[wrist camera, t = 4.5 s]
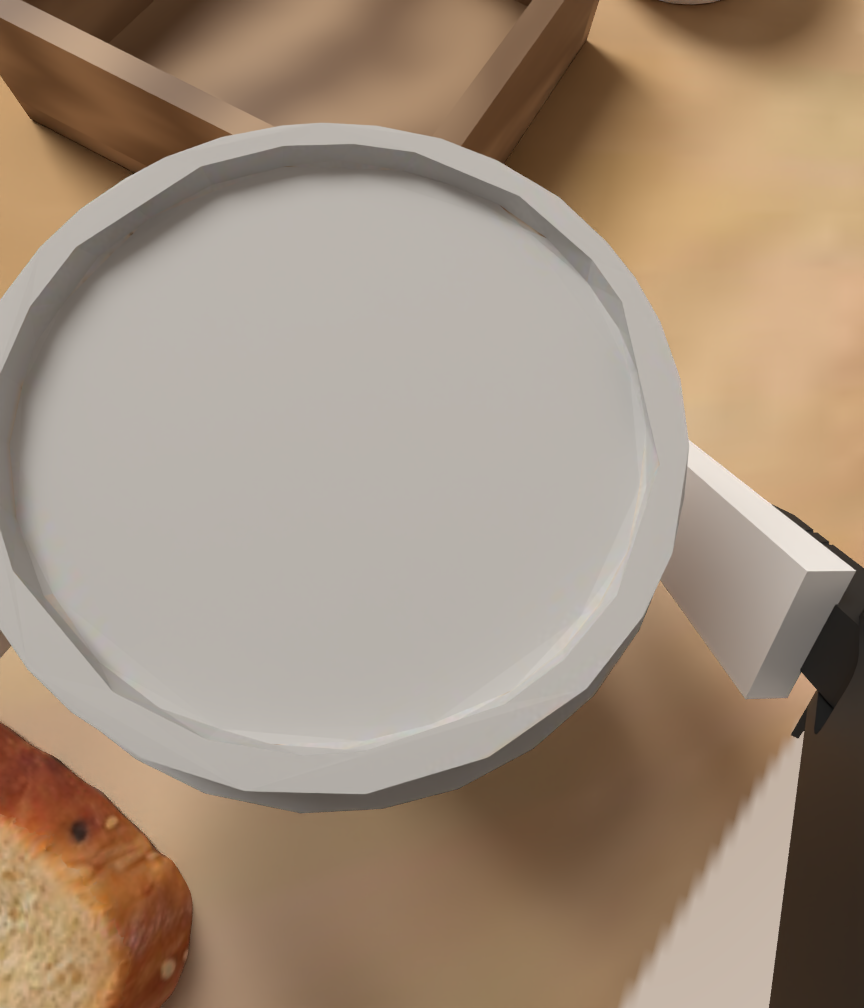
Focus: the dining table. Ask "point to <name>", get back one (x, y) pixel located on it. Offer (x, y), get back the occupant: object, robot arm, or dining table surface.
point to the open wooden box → (285, 68)
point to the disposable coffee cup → (331, 465)
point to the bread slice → (81, 894)
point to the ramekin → (689, 1)
